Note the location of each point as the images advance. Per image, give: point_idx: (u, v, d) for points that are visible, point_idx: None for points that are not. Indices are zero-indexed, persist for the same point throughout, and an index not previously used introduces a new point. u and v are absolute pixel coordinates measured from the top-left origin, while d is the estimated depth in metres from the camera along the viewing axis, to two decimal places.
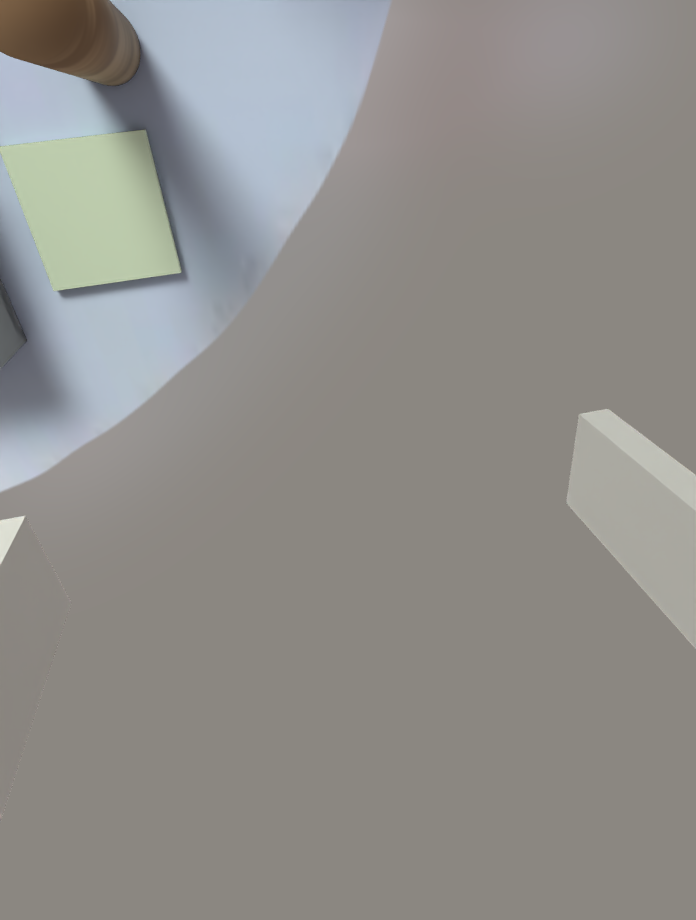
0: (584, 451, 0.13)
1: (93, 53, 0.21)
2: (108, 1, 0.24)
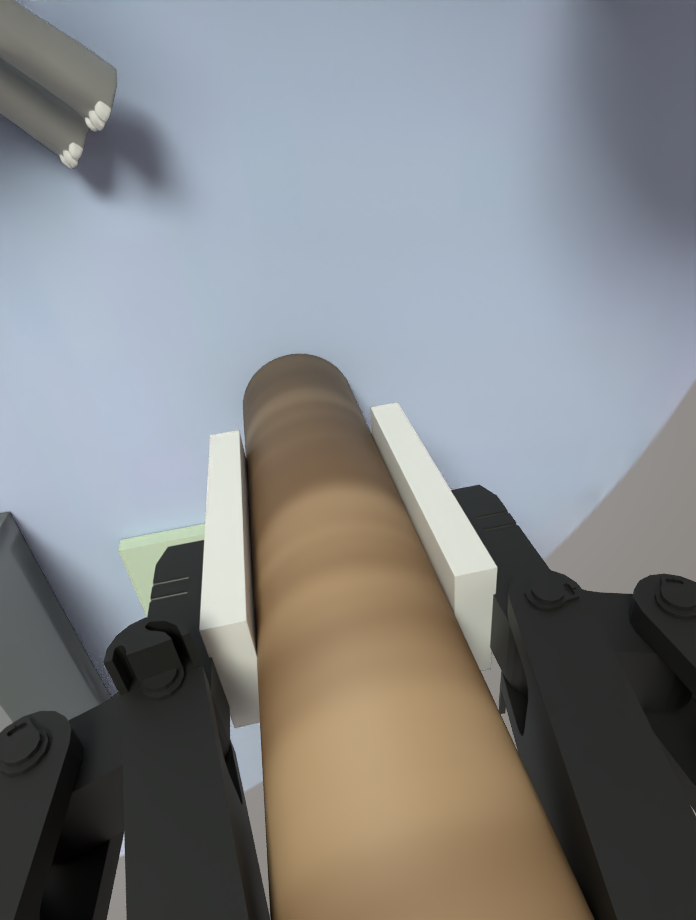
0: (376, 440, 0.15)
1: None
2: (396, 490, 0.12)
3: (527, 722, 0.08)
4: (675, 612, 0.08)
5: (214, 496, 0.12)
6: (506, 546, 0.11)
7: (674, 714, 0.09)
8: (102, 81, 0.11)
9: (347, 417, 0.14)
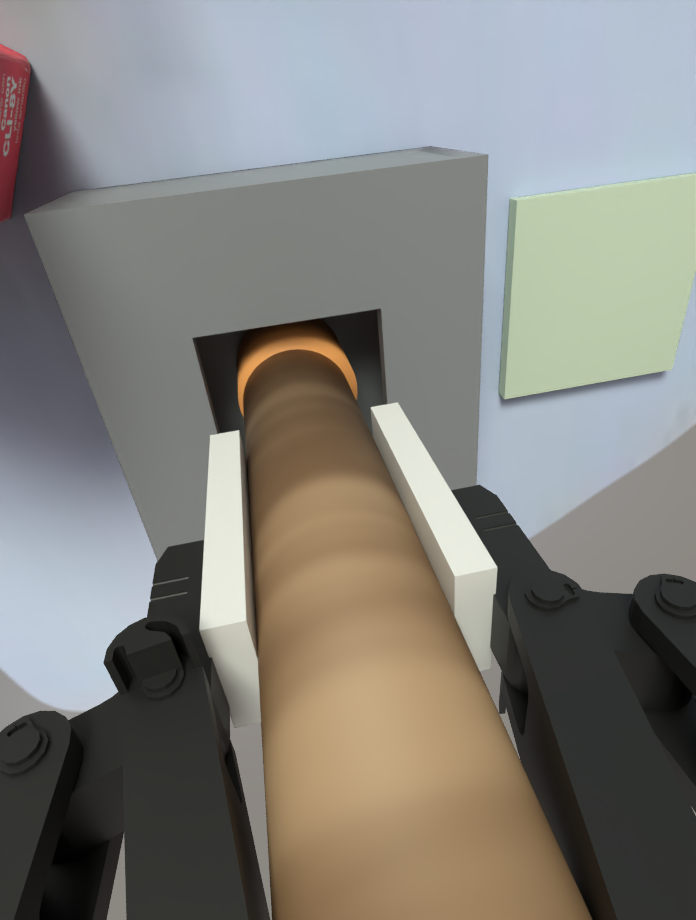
0: (376, 440, 0.15)
1: None
2: (391, 481, 0.13)
3: (527, 722, 0.08)
4: (676, 611, 0.08)
5: (214, 496, 0.12)
6: (506, 546, 0.11)
7: (674, 714, 0.09)
8: None
9: (344, 411, 0.14)
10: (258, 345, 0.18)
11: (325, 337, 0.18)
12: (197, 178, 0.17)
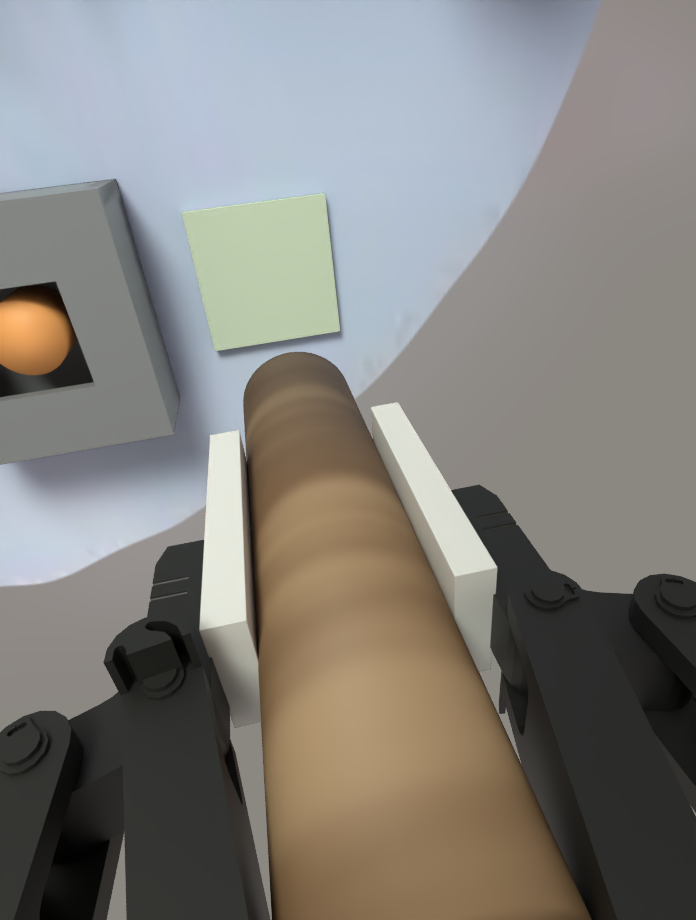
0: (376, 440, 0.15)
1: None
2: (390, 482, 0.13)
3: (527, 722, 0.08)
4: (676, 612, 0.08)
5: (214, 496, 0.12)
6: (506, 546, 0.11)
7: (674, 714, 0.09)
8: None
9: (344, 412, 0.15)
10: None
11: (40, 301, 0.28)
12: None
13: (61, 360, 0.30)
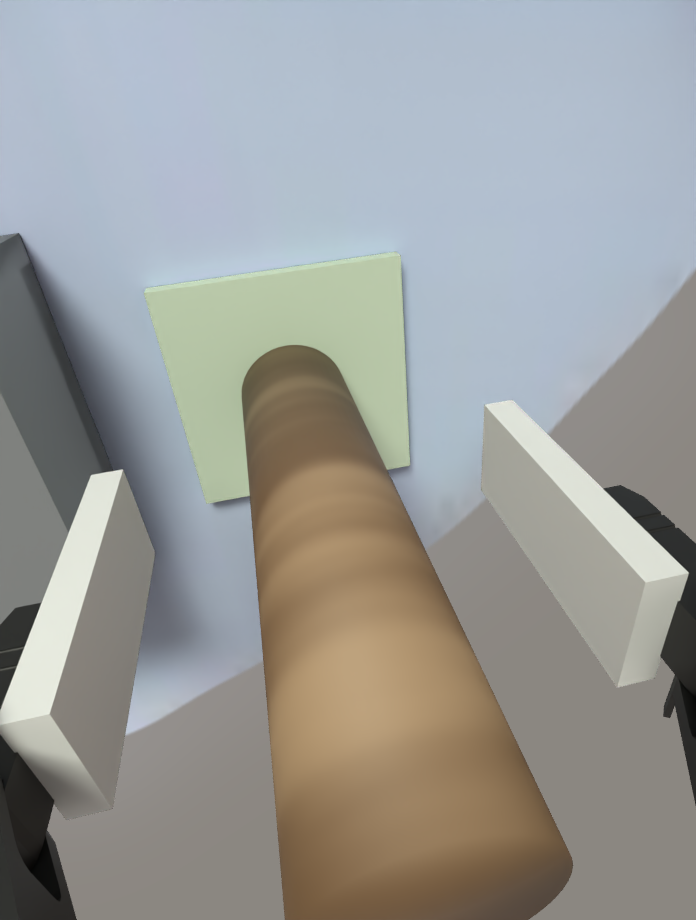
0: (489, 439, 0.14)
1: None
2: (385, 468, 0.13)
3: None
4: None
5: (69, 551, 0.11)
6: (673, 550, 0.10)
7: None
8: None
9: (340, 402, 0.15)
10: None
11: None
12: None
13: None
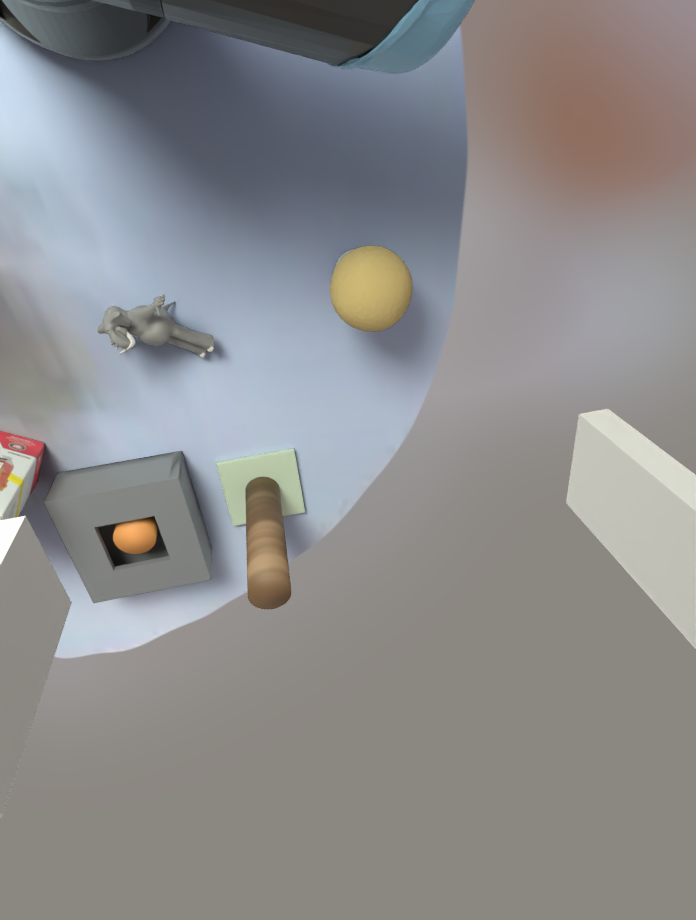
0: (584, 451, 0.13)
1: None
2: (280, 520, 0.52)
3: None
4: None
5: None
6: None
7: None
8: (211, 341, 0.48)
9: (271, 500, 0.54)
10: (119, 523, 0.54)
11: (143, 519, 0.54)
12: (98, 470, 0.53)
13: (152, 546, 0.55)
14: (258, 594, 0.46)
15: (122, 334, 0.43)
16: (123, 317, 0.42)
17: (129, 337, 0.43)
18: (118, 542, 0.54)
